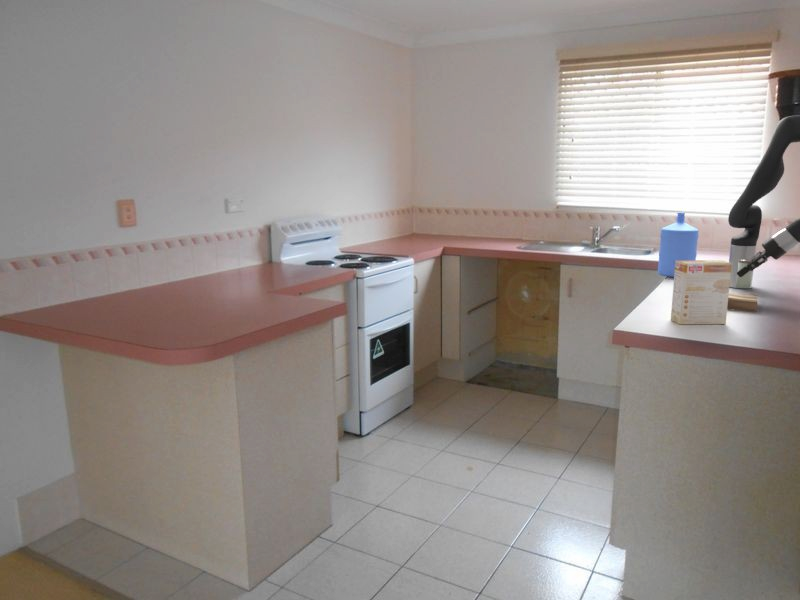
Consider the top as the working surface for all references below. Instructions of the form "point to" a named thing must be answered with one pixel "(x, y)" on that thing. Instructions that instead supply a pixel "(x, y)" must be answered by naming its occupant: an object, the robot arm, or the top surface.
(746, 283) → the spice jar
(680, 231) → the water jug
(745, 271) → the robot arm
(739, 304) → the walnut plinth
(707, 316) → the coffeecake box
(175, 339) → the top surface
